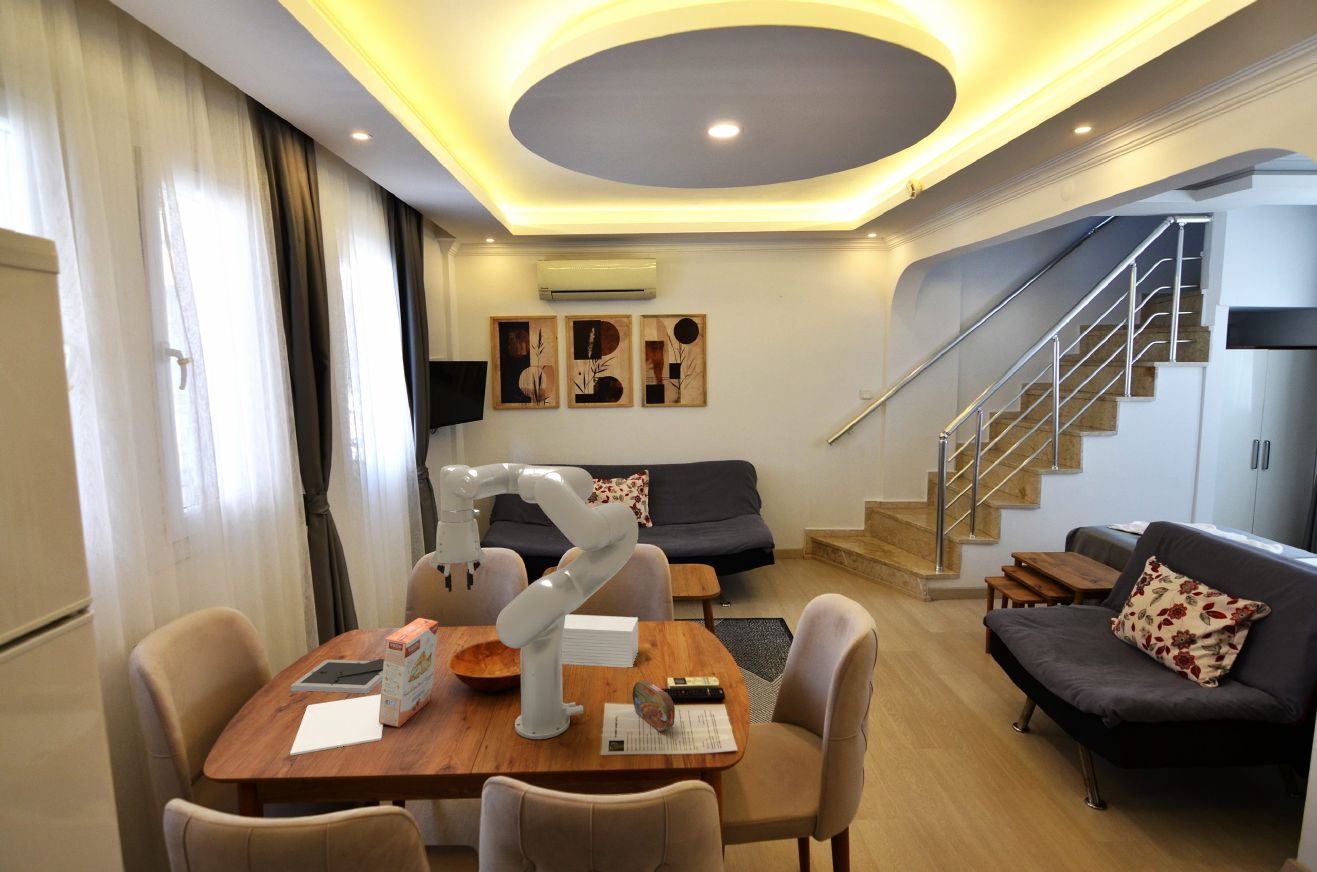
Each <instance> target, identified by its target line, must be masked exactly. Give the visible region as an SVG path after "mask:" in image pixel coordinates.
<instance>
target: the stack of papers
mask: <svg viewBox="0 0 1317 872" xmlns="http://www.w3.org/2000/svg"><path fill="white" fill-rule="evenodd" d="M637 653H638V654H639V617H637V616H636V617H633V616H629V617H628V616H611V615H610V616H609V615H591V614H590V615H588V614H586V615H585V614H570V613H569V614H567V615H566V617H565V625H564V631H563V639H562V665H576V666H590V667H591V666H592V667H593V666H595V667H611V668H612V667H614V668H627V667H632V668H634V665H633V664H635V662H634V661H636V659H637V657H638V654H637ZM636 656H637V657H636ZM635 658H636V659H635Z"/></svg>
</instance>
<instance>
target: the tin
mask: <svg viewBox="0 0 1317 872" xmlns="http://www.w3.org/2000/svg"><path fill="white" fill-rule="evenodd" d="M673 701H674V700H673V699H672V697H671V695H669V693H668V692H666V691H664V690H663V689H662V688H661V687H659V686H657V685H656V684H655V683H653V682H651V681H649V680H643V681H637V682H635V684H634V686H633V688H632V702H633V707H634V710H635V712H636V713H637V715H638V716H639V718H640V719H642V720H644V721H645V722H646V723H647V724H648V725H650V726H651V728H653V729H654V730H656V731H658V732H664V731H665V730H668V729H671V728H672V727H673V726H674V724H675V718H676V717H675V716H676V714H675V713H676V711H675V710H676V708H675V705H674V702H673Z"/></svg>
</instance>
